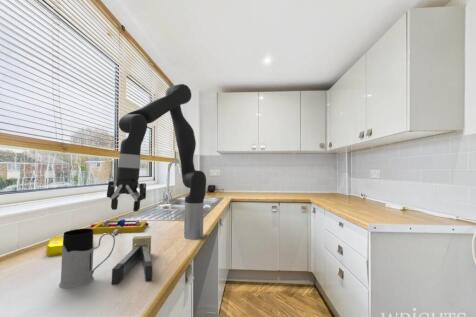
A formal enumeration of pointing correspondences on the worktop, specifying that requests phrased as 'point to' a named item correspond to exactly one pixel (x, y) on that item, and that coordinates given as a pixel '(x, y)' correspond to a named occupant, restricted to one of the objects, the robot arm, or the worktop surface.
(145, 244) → the plate
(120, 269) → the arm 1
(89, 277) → the glass holder
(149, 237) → the tan framed block
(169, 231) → the worktop surface
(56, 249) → the element tile
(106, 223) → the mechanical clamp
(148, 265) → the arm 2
